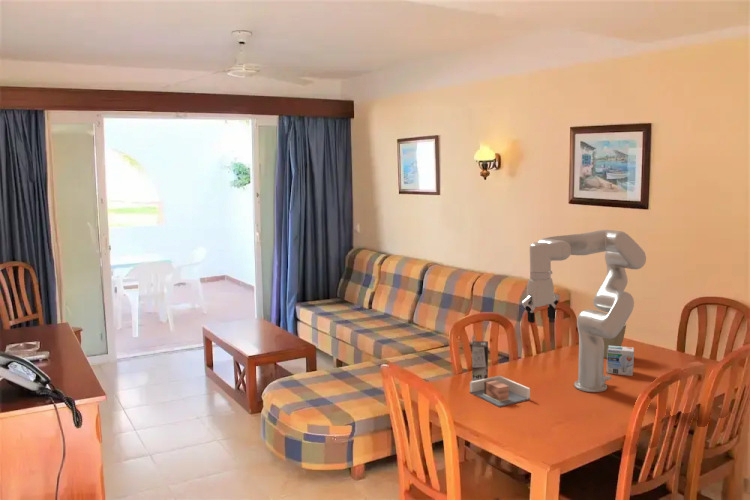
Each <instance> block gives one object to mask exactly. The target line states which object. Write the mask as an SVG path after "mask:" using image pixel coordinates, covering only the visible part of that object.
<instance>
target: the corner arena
mask: <svg viewBox="0 0 750 500" xmlns="http://www.w3.org/2000/svg"><path fill="white" fill-rule="evenodd" d="M489 380H496V381H498V382H500V383H502V384H505V385H507V386H509V399H506V400H501V401H498V400H496V399H494V398H492V397H490V396H488V395H486V394H484V382H485V381H489ZM469 393H470V394H471V395H474V396H475V397H477V398H480V399H482V400H483V401H486V402H488V403H490V404H492V405H494V406H496V407H498V408H501V407H502V408H503V407H505V406H509V405H514V404H517V403H522V402H525V401H530V400H531V388H530V387H528V386H525V385H523V384H521V383H518V382H516V381H514V380H511V379H509V378H507V377H505V376H502V375H499V374H498V375H495V376H491V377H488V378H485V379H481V380H476V381H472V380H471V381H469Z"/></svg>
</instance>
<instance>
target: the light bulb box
mask: <svg viewBox="0 0 750 500" xmlns="http://www.w3.org/2000/svg"><path fill="white" fill-rule="evenodd" d="M634 359H635V348H634V347H632V346H631V347H630V346H622V345H621V346H610V345H609V346H608V352H607V358H606V374H609V375H611V374H613V375H620V376H630V377H633V375H634V366H635V365H634V363H635V361H634Z"/></svg>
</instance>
